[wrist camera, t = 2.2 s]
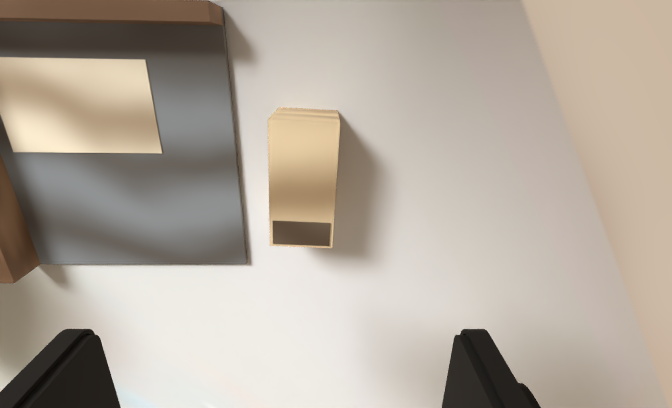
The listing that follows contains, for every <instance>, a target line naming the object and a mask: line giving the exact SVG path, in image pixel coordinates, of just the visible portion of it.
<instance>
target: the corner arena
mask: <svg viewBox="0 0 672 408" xmlns="http://www.w3.org/2000/svg"><path fill="white" fill-rule="evenodd" d="M246 263H247V252H246V242H245V231H244V221H243V210H242V200H241V190H240V179H239V169H238V158H237V148H236V137H235V127H234V116H233V106H232V95H231V85H230V75H229V64H228V54H227V43H226V33H225V22H224V12H223V8H222V7H220V6H218V5H216V4H214V3H212V2H210V1H201V0H0V283H15V282H16V281H18V280H19V279H21V278H22V277H23V276H25V275H26V274H28V273H29V272H30V271H32V270H33V269H34V268H36V267H37V266H39V265H40V264H246Z"/></svg>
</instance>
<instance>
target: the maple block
mask: <svg viewBox="0 0 672 408" xmlns="http://www.w3.org/2000/svg"><path fill="white" fill-rule="evenodd" d="M339 135H340V119H339V115H338V111H337V110H320V109H303V108H285V107H279V108H278V109H277V110H276V111H275V112H274V113H273V114H272V115H271V116H270V117H269V118H268V154H269V220H270V246H290V247H315V248H332V244H333V229H334V213H335V197H336V182H337V166H338V150H339Z"/></svg>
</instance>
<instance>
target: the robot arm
mask: <svg viewBox="0 0 672 408" xmlns="http://www.w3.org/2000/svg"><path fill="white" fill-rule="evenodd" d="M0 408H120V404H119V401H118V397H117V394H116V391H115V387H114V384H113V380H112V377H111V374H110V370H109V367H108V364H107V360H106V357H105V354H104V350H103V347H102V344H101V340H100V338H99V336H98V335H95V334H94V332H93V331H92V330H91V329H66V330H63V331H62V332H60V333H59V334H58V335H57V336H56V337H55V338H54V339H53V340H52V341H51V342H50V343H49V344H48V345H47V346H46V347H45V348H44V349H43V350H42V351H41V352H40V353H39V354H38V355H37V356H36V357H35V358H34V359H33V360H32V361H31V362H30V363H29V364H28V365H27V366H26V367H25V368H24V369H23V370H22V371H21V372H20V373H19V374H18V375H17V376H16V377H15V378H14V379H13V380H12V381H11V382H10V383H9V384H8V385H7V386H6V387H5V388H4V389H3V390H2V391H1V392H0ZM442 408H541V407H540V406H539V404H538V402H537V401H536V399H535V398H534V396H533V394H532V393H531V391H530V390H529V389H528V387H526V386H525V385H524V384H522V383H518V382H517V381H516V379H515V377H514V375H513V374H512V372H511V370H510V369H509V367H508V365H507V364H506V362H505V360H504V359H503V357H502V355H501V353H500V352H499V350H498V348H497V347H496V345H495V343H494V342H493V340H492V338H491V336H490V335H489V333H488V332H487V331H486V330H485V329H463V330H462V331H461V334H460V335H456V336H455V337H454V342H453V348H452V353H451V359H450V364H449V370H448V376H447V381H446V387H445V392H444V398H443V404H442Z"/></svg>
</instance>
